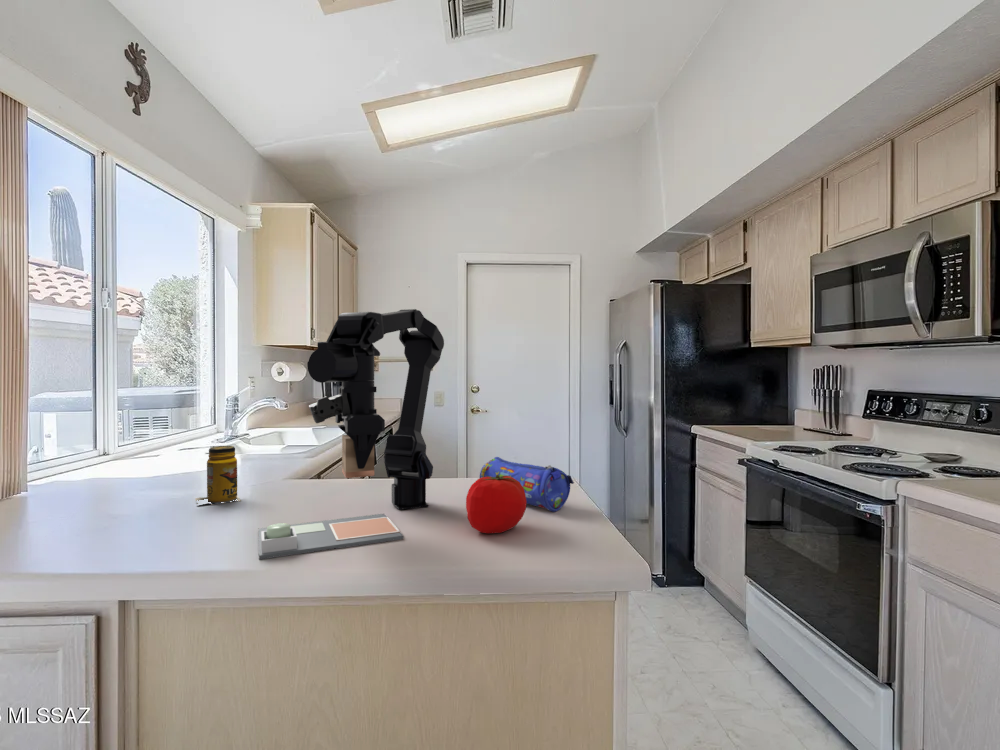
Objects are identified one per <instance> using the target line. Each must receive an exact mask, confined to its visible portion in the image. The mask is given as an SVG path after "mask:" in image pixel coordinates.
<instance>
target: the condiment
mask: <svg viewBox="0 0 1000 750" xmlns="http://www.w3.org/2000/svg"><path fill="white" fill-rule="evenodd" d="M194 499H195V502H196V501H197V500H198V501H199V500H204V499H208V502H211V503H221V502H230V501H233V500H234V501H235V500H236V499H237V500H238V502H241V499H240V497H239V495H238V459H237V457H236V447H235V446H233V445H217V446H212V447H210V448H208V459H207V461H206V497H205V496H204V497H203V496H201V497H195V498H194ZM237 500H236V501H237ZM230 503H231V502H230Z"/></svg>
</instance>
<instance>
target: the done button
mask: <svg viewBox="0 0 1000 750" xmlns="http://www.w3.org/2000/svg"><path fill="white" fill-rule="evenodd" d="M290 525H291V524H290V523H283V522H281V523H273V524H270V525H268V526H266V527H267V539H274V538H282V537H290Z"/></svg>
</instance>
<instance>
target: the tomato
mask: <svg viewBox="0 0 1000 750" xmlns="http://www.w3.org/2000/svg"><path fill="white" fill-rule="evenodd" d="M484 476H486V475H484ZM499 476H500V475H496V477H491V476H487V477H482V478H480V477H479V478H477V480H475V482H473V483H472V484H471V485H470V487H469V488H468V492H467V494H466V498H465V509H466V513H467V516H466V517H467V520H468V523H469V525H470V526H471V528H473V529H474V530H476V531H477V532H479V533H484V534H487V535H488V534H501V533H503V532H507V531H509V530H511V529H513V528H515V526H517V524H519V522H520V521H521V520H522V519H523V516H524V515H525V512H526V509H527V504H526V503H527V501H526V496H525V492H524V488H523V487H522V485H521V484H520V482H519V481H517V480H516V479H514V478H512V477H510V476H500V477H499Z"/></svg>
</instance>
